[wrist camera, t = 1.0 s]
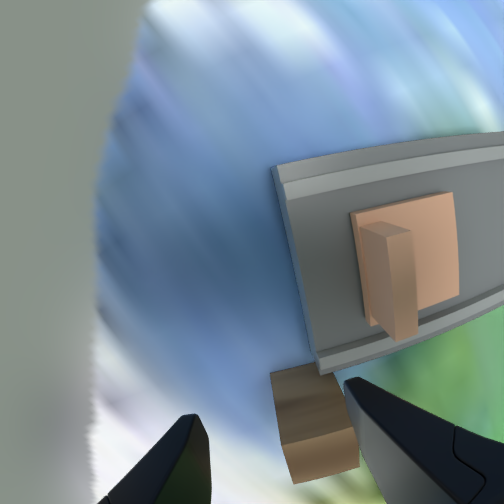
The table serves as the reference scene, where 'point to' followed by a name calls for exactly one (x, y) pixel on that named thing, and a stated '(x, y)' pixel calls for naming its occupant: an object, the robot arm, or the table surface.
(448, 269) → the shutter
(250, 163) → the table surface
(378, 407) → the robot arm
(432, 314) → the socket block
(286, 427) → the plug
